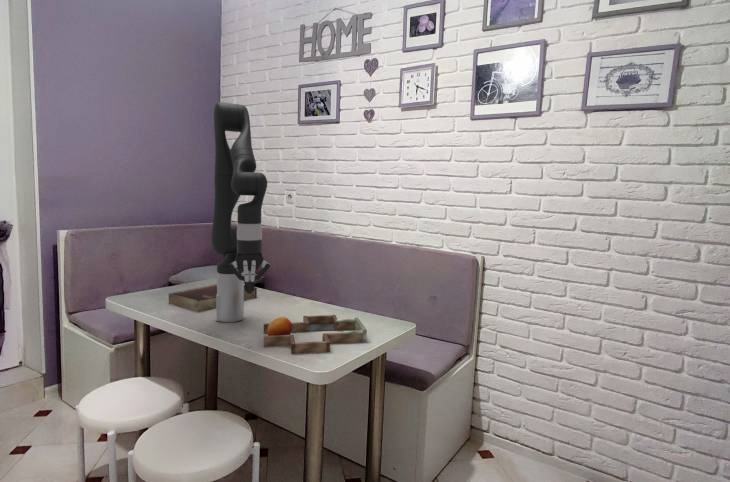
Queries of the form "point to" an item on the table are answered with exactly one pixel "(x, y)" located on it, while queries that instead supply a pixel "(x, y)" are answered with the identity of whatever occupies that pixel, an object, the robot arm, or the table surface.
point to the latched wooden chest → (201, 298)
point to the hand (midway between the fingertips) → (249, 293)
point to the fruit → (280, 327)
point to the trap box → (327, 338)
